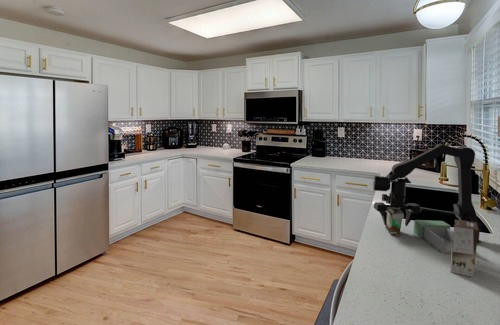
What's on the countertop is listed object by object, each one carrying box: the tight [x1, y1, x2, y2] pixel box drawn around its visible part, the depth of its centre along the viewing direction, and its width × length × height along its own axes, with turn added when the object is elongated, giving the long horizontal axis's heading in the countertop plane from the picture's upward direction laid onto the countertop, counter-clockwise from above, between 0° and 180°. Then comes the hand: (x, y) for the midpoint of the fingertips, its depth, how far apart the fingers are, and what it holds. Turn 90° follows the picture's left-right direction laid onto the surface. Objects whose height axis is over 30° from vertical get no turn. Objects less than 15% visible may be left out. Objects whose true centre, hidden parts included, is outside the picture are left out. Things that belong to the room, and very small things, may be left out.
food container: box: [384, 209, 405, 236], centre depth 134 cm, size 12×6×10 cm, turn 168°
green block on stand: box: [413, 219, 454, 254], centre depth 122 cm, size 12×21×6 cm, turn 175°
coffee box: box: [449, 219, 478, 278], centre depth 99 cm, size 9×6×16 cm
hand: (395, 225), depth 134 cm, fingers open, 9 cm apart
